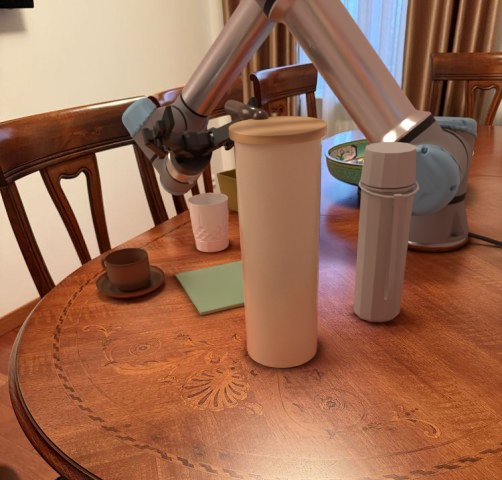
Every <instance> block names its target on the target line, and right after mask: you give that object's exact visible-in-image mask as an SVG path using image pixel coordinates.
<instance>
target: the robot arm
mask: <svg viewBox="0 0 502 480" xmlns="http://www.w3.org/2000/svg"><path fill="white" fill-rule="evenodd" d="M277 24H283V25H284V26H285V27H286V28H287V30H288V31H289V33H290V34H291V35H292V37H293V38H294V40H295V41H296V42H297V44H298V46H300V48H301V49H302V51H303V53H304V54H305V55H306V57H307V58H308V59H309V60H310V63H312V65H313V67H314V68H315V69H316V71H317V72H318V74H319V75H320V76H321V77H322V79H323V80H324V82H325V83H326V85H327V86H328V87H329V89H330V91H331V92H332V93H333V94H334V96H335V97H336V98H337V100H338V101H339V103H340V104H341V106H342V107H343V109H344V110H345V111H346V113H347V114H348V116H349V117H350V118H351V120H352V122H353V123H354V124H355V125H356V128H358V130H359V131H360V133H361V134H362V135H363V137H364V138H365V140H366V141H367V142H368V145H370V144H372V143H380V142H402V143H409V144H412V145H415V147H416V181H417V183H418V184H419V190H418V191H417V192H416V193H415V194H414V197H413V206H412V214H411V222H410V230H409V239H408V247H407V250H412V251H419V252H427V253H441V252H443V253H444V252H450V251H455V250H458V249H461V248H462V247H464V246H466V245H467V243H468V240H469V238H472V239H476V240H479V241H482V242H485V243H489V244H492V245H495V246H499V247H502V241H500V240H497V239H493V238H491V237H488V236H486V235H485V236H484V235H481V234H477V233H474V232H470V229H469V228H470V227H469V222H468V217H467V210H466V204H465V200H466V196H467V191H468V190H467V189H468V184H469V177H470V173H471V172H470V171H471V166H472V161H473V155H474V147H475V144H476V139H477V138H478V133H477V132H478V123H477V121H476V120H475V118H471V117H462V116H461V117H460V116H434V115H433V114H432V113H431V112H430V111H426V110H418V109H417V108H415V107H414V105H413V104H412V102H411V101H410V99H409V98H408V96H407V95H406V93H405V92H404V90H403V89H402V88H401V86H400V84H398V82H397V80H396V79H395V78H394V76H393V75H392V73H391V71H390V70H389V68H388V67H387V66H386V64H385V63H384V62H383V60H382V59H381V57H380V56H379V54H378V52H377V51H376V50H375V48H374V47H373V45H372V43H371V42H370V41H369V40H368V38H367V36H366V35H365V34H364V33H363V30H361V28H360V26H359V25H358V24H357V22H356V20H355V19H354V18H353V16H352V15H351V13H350V12H349V11H348V9H347V8H346V6H345V4H344V3H343V2H342V1H341V0H241V1H240V2H239V4H238V5H237V6H236V8H235V9H234V11H233V13H231V16H230V17H229V18H228V20H227V22H226V23H225V25H224V26H223V28H222V29H221V31H220V32H219V34H218V35H217V36H216V39H215V40H214V41H213V42H212V44H211V45H210V47H209V49H208V50H207V52H206V53H205V55H204V57H203V58H202V59H201V61H200V62H199V63H198V65H197V67H196V68H195V70H194V71H193V73H192V74H191V76H190V77H189V79H188V81H187V82H186V83H185V85H184V87H183V88H182V89H181V91H180V93H179V95H178V96H177V97H176V99H175V100H174V102H173V103H171V104H168V105H164V106H160V107H158V106H157V105H156V104H155V103H154V102H153V101H152V100H151V99H150V98H148V97H142V98H139V99H138V100H135V101H134V102H133V103H131V104H130V105H129V106H128V107H126V109H125V111H124V112H123V113H122V116H121V122H122V124H123V125H124V127H125V128H126V130H127V131H128V133H129V134H130V138H132V140H134V141H135V143H136V144H137V146H138V147H139V148H140V150H141V151H142V152H143V154H144V155H145V157H146V158H147V159H148V161H149V162H150V163H151V165H152V167H153V168H154V169H155V170H156V172H157V173H158V175H159V182H160V185H161V187H162V188H163V189H164V191H165V192H167V193H168V194H169V195H173V196H183V195H185V194H188V193H189V192H190V190H192V188H194V187H195V186H196V184H197V182H198V180H199V178H200V177H201V176H202V174H203V172H204V171H205V170H206V169H207V167H208V166H209V164H210V163H211V160H212V157H213V153H214V151H216V150H218V149H221V148H222V147H223V148H224V151H226V152H227V151H230V150H232V149H234V141H233V140H231V139H230V138H229V126H230V125H232V124H234V123H237V122H240V121H242V120H240V119H237V118H235V119H233V120H232V121H229V122H227V123H225V124H223V125H221V126H219V127H214V126H212V127H209V128H208V129H207V127H208V125H209V122H210V115H211V113H212V112H213V111H214V110H215V108H216V107H217V105H218V104H219V103H220V101H221V100H222V99H223V97H224V96H225V94H226V93H227V92H228V90H229V89H230V88H231V86H232V85H233V84H234V83H235V81H236V79H237V78H238V77H239V76H240V74H241V73H242V71H243V70H244V69H245V68H246V66H247V65H248V63H250V61H251V59H253V57H254V56H255V54H256V52H257V51H258V50H259V49H260V47H261V46H262V45H263V43H264V42H265V41H266V39H267V38H268V36H269V35H270V34H271V32H272V31H273V30H274V28H276V26H277ZM246 104H247V105H250V106H253V107H256V108H259V103H258V99H257V96H251V97H250V99H249V100H248V101H247V103H246ZM413 189H414V191H415V190H416V186H415V187H413Z"/></svg>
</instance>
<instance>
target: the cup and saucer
mask: <svg viewBox="0 0 502 480" xmlns="http://www.w3.org/2000/svg"><path fill="white" fill-rule="evenodd" d="M100 265H101V268H102V269H103V270H104V271H105V272H104V273H102V274H100V276H98V278H97V279H96V281H95V287H96V289H97V290H98V292H100V293H101V294H103V295H105V296H107V297H110V298H117V299H129V298H136V297H140V296H144V295H147V294H149V293H152V292H153V291H155V290H156V289H158V288H159V287H160V286H161V285H162V283H163V282H164V280H165V271H164V270H163V269H162V268H160V267H158V266H156V265H152V264H150V260H149V254H148V251H147V250H145V249H144V248H139V247H126V248H125V247H124V248H120V249H117V250H114V251H110V253H108V254H106V255H105V256H103V257H101V259H100Z"/></svg>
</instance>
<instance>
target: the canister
mask: <svg viewBox="0 0 502 480" xmlns="http://www.w3.org/2000/svg"><path fill="white" fill-rule="evenodd" d="M233 151H234V152H233V153H234V164H235V165H234V166H235V168H236V183H237V199H238V212H237V214H238V229H239V243H240V245H239V246H240V261H241V262H242V278H243V293H244V306H243V307H244V308H243V309H244V323H245V325H244V326H245V339H246V340H245V341H246V351H247V354H248V356H249V357H250V359H252V361H255V362H256V363H257V364H259V365H262V366H265V367H269V368H277V369H286V368H287V369H288V368H293V367H298V366H301V365H304V364H305V363H307V362H309V361H310V360H312V359H313V358H314V357H315V356H316V354H317V351H318V333H319V332H318V331H319V329H318V328H319V289H320V288H319V287H320V285H319V282H320V246H321V245H320V240H321V201H322V199H321V198H322V197H321V196H322V157H323V156H322V155H323V153H322V151H323V137H321V138H319V139H316V140H312V141H307V142H302V143H295V144H284V145H253V144H244V143H239V142H236V141H234V147H233Z"/></svg>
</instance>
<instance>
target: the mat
mask: <svg viewBox="0 0 502 480" xmlns="http://www.w3.org/2000/svg"><path fill="white" fill-rule="evenodd" d="M174 276H175V278H176V279H177V281H178V282H179V284H180V285H181V287H182V288H183V290H184V291H185V293H186V295H187V296H188V298H189V299H190V301H191V302H192V304H193V306H194V307H195V309H196V310H197V311H198V313H199V314H200V316H205V315H210V314H215V313H218V312H222V311H226V310H231V309H234V308H240V307H244V293H243V278H242V262H241V260H237V261H232V262H231V261H230V262H227V263H221V264H217V265H212V266H208V267H207V266H206V267H203V268H198V269H193V270H189V271H183V272H179V273H178V272H177V273H175V275H174Z"/></svg>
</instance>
